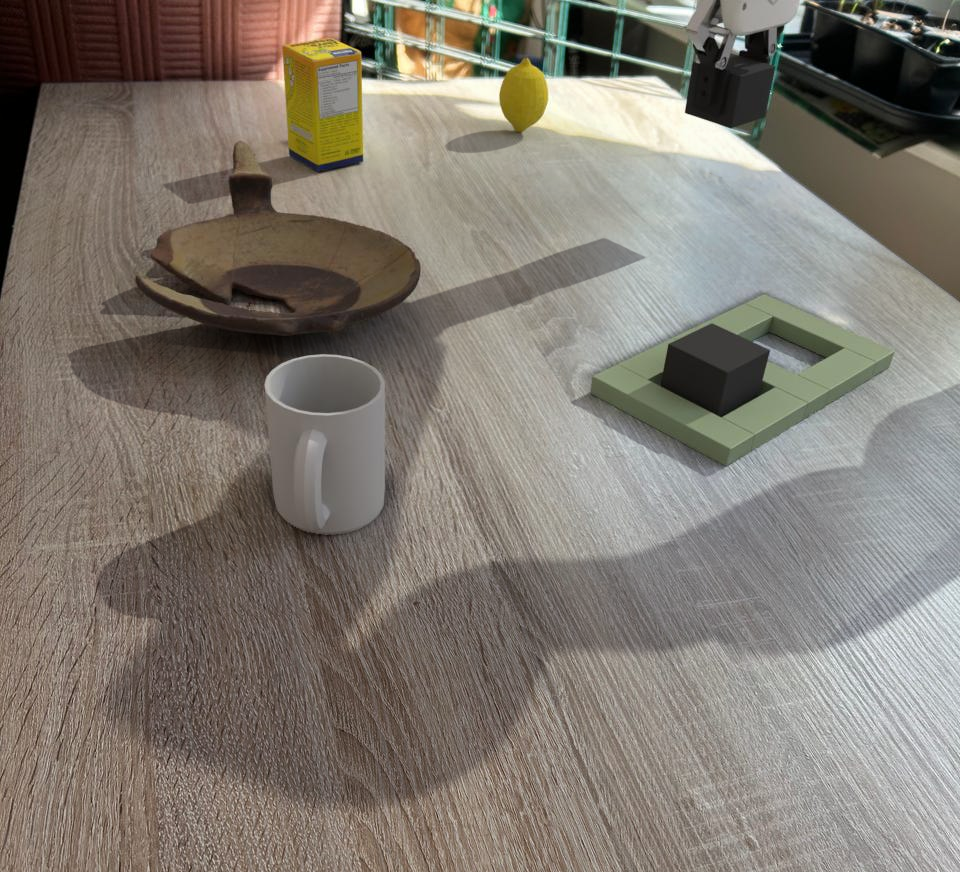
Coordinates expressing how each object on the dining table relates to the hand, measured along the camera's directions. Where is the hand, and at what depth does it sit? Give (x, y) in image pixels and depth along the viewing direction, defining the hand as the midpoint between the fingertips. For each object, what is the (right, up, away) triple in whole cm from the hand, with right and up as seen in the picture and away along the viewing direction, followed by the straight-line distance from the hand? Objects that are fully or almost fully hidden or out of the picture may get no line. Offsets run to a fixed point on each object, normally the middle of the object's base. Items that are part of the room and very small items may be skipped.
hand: (727, 103), depth 104 cm
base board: (-2, -30, -16) cm, 34 cm away
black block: (-6, -32, -19) cm, 38 cm away
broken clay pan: (-39, -22, -10) cm, 46 cm away
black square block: (0, -1, +1) cm, 1 cm away
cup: (-33, -43, -32) cm, 63 cm away
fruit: (-19, +8, +24) cm, 32 cm away
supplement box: (-40, +1, +14) cm, 42 cm away
